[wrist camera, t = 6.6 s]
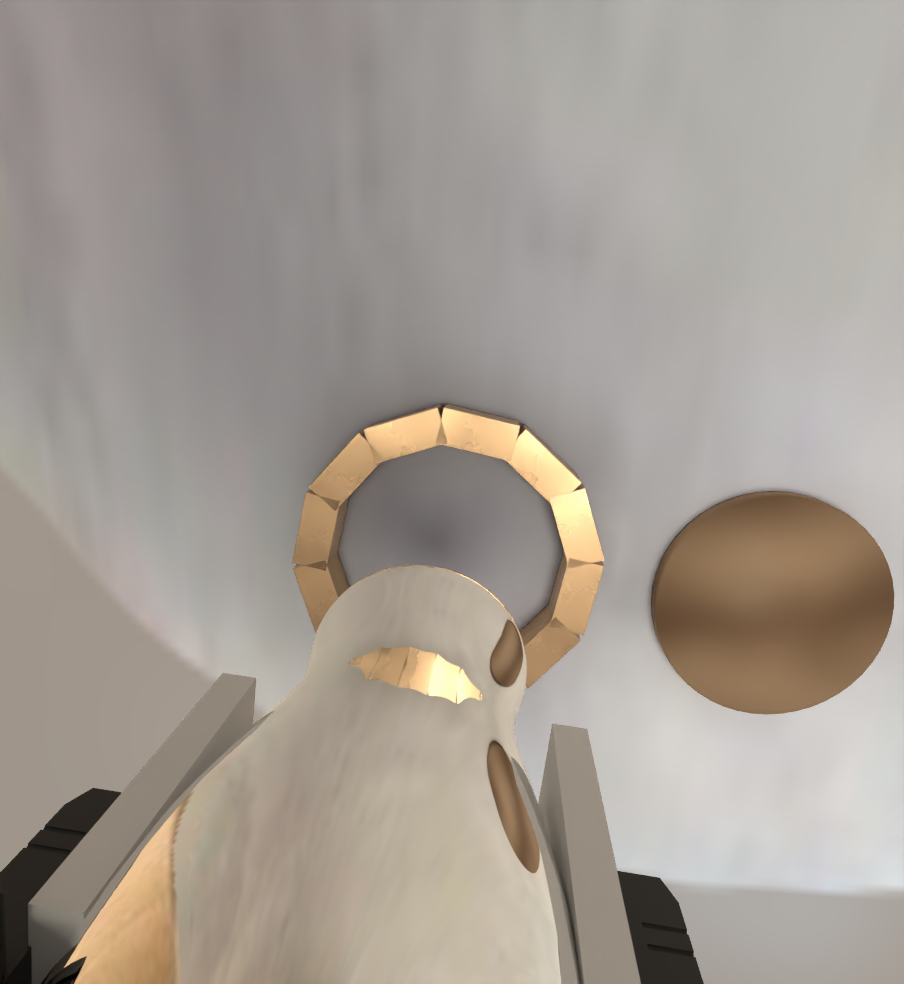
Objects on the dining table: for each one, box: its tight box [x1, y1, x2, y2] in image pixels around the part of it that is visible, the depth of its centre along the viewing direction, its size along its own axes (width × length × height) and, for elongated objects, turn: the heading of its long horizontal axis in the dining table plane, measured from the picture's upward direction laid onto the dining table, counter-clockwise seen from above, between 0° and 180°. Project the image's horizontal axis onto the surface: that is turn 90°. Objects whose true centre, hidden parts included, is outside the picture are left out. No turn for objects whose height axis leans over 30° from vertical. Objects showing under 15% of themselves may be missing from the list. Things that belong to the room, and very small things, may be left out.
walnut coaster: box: [651, 491, 894, 714], centre depth 31 cm, size 10×10×1 cm
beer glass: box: [41, 565, 581, 984], centre depth 13 cm, size 7×7×15 cm
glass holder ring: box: [292, 404, 604, 688], centre depth 31 cm, size 13×13×2 cm
